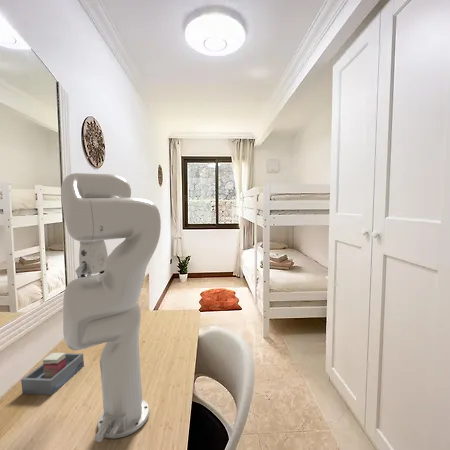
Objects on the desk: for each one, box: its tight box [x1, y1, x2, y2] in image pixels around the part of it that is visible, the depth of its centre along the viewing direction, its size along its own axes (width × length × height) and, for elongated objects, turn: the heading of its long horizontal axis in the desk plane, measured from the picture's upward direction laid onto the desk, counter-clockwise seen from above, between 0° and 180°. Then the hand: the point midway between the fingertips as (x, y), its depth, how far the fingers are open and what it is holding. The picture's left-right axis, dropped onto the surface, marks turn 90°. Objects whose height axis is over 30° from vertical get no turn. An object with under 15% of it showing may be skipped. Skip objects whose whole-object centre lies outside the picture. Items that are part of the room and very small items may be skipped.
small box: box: [42, 352, 66, 378], centre depth 88 cm, size 5×4×8 cm
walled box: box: [20, 352, 85, 396], centre depth 88 cm, size 15×10×4 cm, turn 173°
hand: (95, 288), depth 92 cm, fingers open, 9 cm apart
